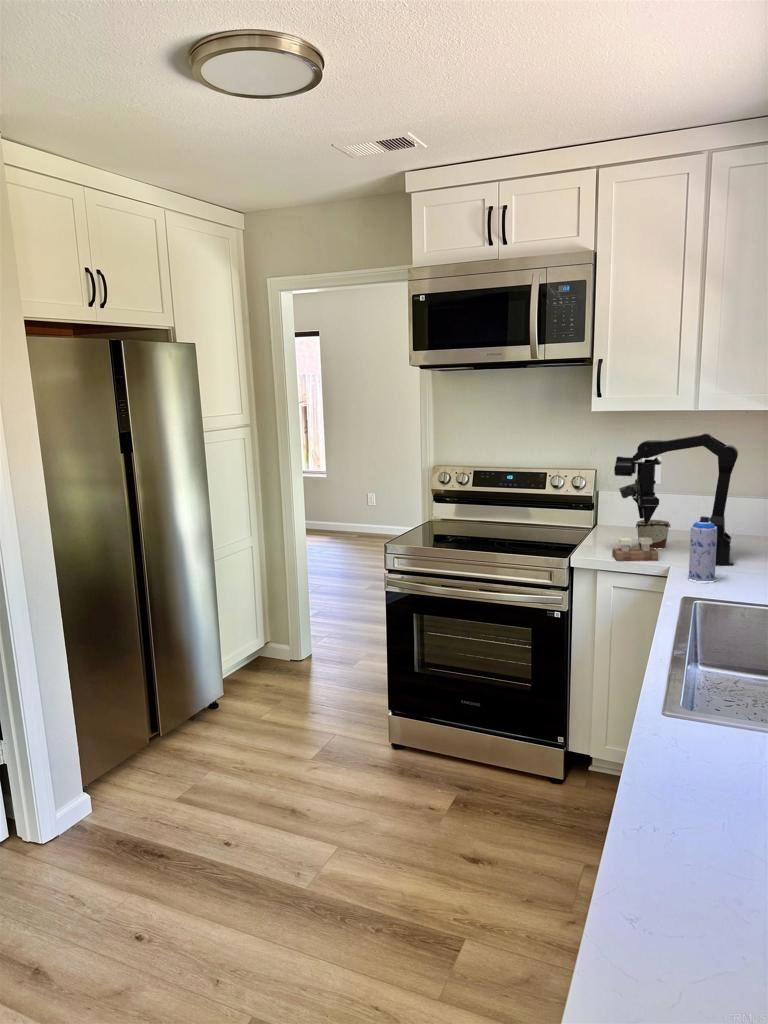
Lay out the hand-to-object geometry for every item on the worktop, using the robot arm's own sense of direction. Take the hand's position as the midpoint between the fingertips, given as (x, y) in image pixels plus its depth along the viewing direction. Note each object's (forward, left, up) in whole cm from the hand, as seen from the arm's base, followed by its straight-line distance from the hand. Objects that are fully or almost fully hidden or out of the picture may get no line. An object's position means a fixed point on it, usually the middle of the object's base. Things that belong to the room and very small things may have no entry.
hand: (643, 521), depth 246 cm
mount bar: (-2, +3, -13) cm, 14 cm away
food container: (+15, -7, -13) cm, 21 cm away
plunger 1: (-2, +7, -11) cm, 13 cm away
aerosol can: (-30, -10, -13) cm, 34 cm away
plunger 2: (-2, 0, -11) cm, 11 cm away
